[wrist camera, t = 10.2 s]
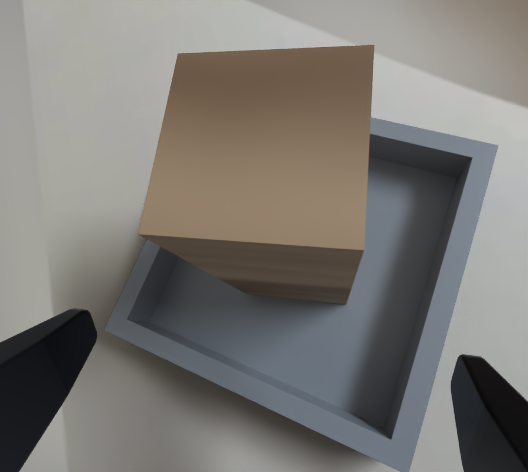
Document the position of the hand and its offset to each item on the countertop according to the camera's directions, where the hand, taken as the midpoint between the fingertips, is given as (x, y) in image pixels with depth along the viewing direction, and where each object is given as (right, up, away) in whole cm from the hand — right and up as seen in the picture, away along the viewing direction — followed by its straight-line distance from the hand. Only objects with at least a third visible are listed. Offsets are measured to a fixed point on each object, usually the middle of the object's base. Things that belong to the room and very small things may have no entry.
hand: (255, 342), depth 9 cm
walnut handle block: (+2, +2, +8) cm, 9 cm away
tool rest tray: (+2, +2, +9) cm, 9 cm away
